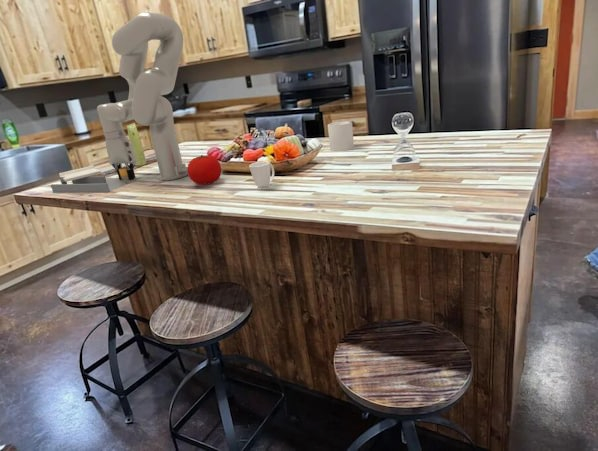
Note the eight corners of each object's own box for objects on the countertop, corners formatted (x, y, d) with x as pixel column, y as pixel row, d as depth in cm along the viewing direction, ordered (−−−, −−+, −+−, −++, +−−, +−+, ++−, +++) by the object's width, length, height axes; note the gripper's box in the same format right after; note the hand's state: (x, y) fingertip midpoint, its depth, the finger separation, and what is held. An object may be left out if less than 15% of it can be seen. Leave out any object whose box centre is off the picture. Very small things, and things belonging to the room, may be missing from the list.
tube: (148, 164, 203) (137, 123, 196) (137, 166, 200) (126, 125, 193) (145, 162, 207) (134, 122, 200) (135, 165, 205) (123, 124, 198)
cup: (248, 190, 139) (244, 166, 136) (267, 181, 146) (263, 158, 144) (265, 191, 135) (261, 167, 132) (283, 182, 143) (279, 159, 140)
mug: (325, 147, 187) (322, 123, 183) (346, 143, 189) (344, 119, 185) (334, 152, 175) (331, 126, 171) (357, 148, 177) (355, 122, 173)
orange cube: (135, 177, 177) (132, 166, 176) (128, 180, 174) (124, 169, 172) (127, 177, 179) (124, 166, 177) (119, 180, 175) (116, 169, 174)
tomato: (228, 178, 158) (222, 150, 154) (213, 188, 147) (207, 158, 143) (201, 179, 161) (195, 152, 157) (185, 189, 150) (178, 160, 147)
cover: (97, 177, 187) (93, 165, 185) (103, 180, 179) (99, 168, 177) (60, 186, 179) (56, 174, 177) (65, 190, 171) (61, 177, 169)
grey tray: (143, 177, 176) (140, 169, 175) (108, 193, 160) (105, 184, 159) (90, 179, 188) (88, 171, 187) (53, 193, 171) (50, 184, 170)
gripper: (137, 132, 170) (149, 175, 176) (106, 134, 176) (118, 176, 183) (124, 136, 163) (137, 181, 170) (92, 138, 170) (105, 181, 176)
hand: (127, 178), depth 176 cm, fingers closed on orange cube, 4 cm apart
